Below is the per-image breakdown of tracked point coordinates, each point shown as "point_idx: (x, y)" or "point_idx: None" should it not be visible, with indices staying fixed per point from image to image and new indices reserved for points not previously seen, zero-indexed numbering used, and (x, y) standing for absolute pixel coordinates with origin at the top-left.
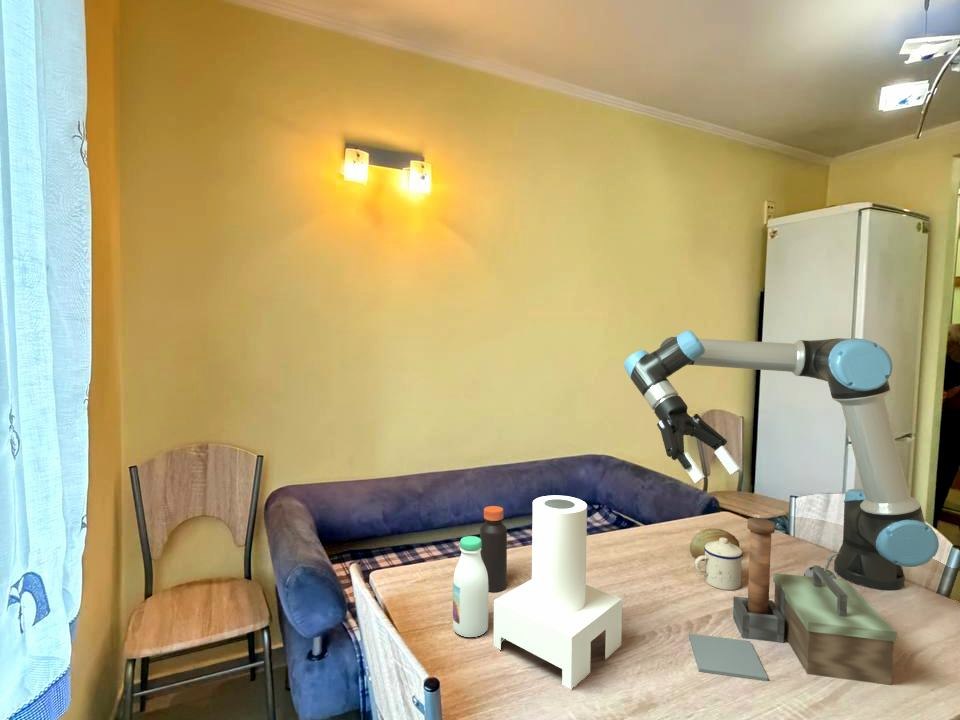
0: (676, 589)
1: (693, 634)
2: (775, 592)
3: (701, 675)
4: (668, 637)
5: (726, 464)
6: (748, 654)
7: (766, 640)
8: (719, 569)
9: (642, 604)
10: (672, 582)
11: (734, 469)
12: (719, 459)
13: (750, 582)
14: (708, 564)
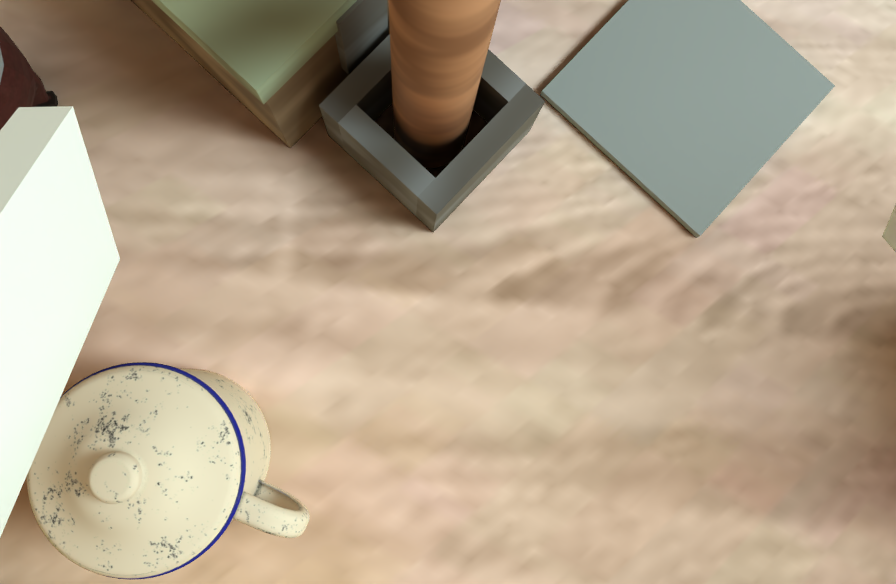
0: (439, 514)
1: (689, 223)
2: (279, 103)
3: (836, 74)
4: (767, 271)
5: (55, 321)
6: (621, 47)
7: None
8: (247, 420)
9: (677, 495)
10: (398, 573)
11: (84, 178)
12: (26, 469)
13: (480, 76)
14: (249, 486)
